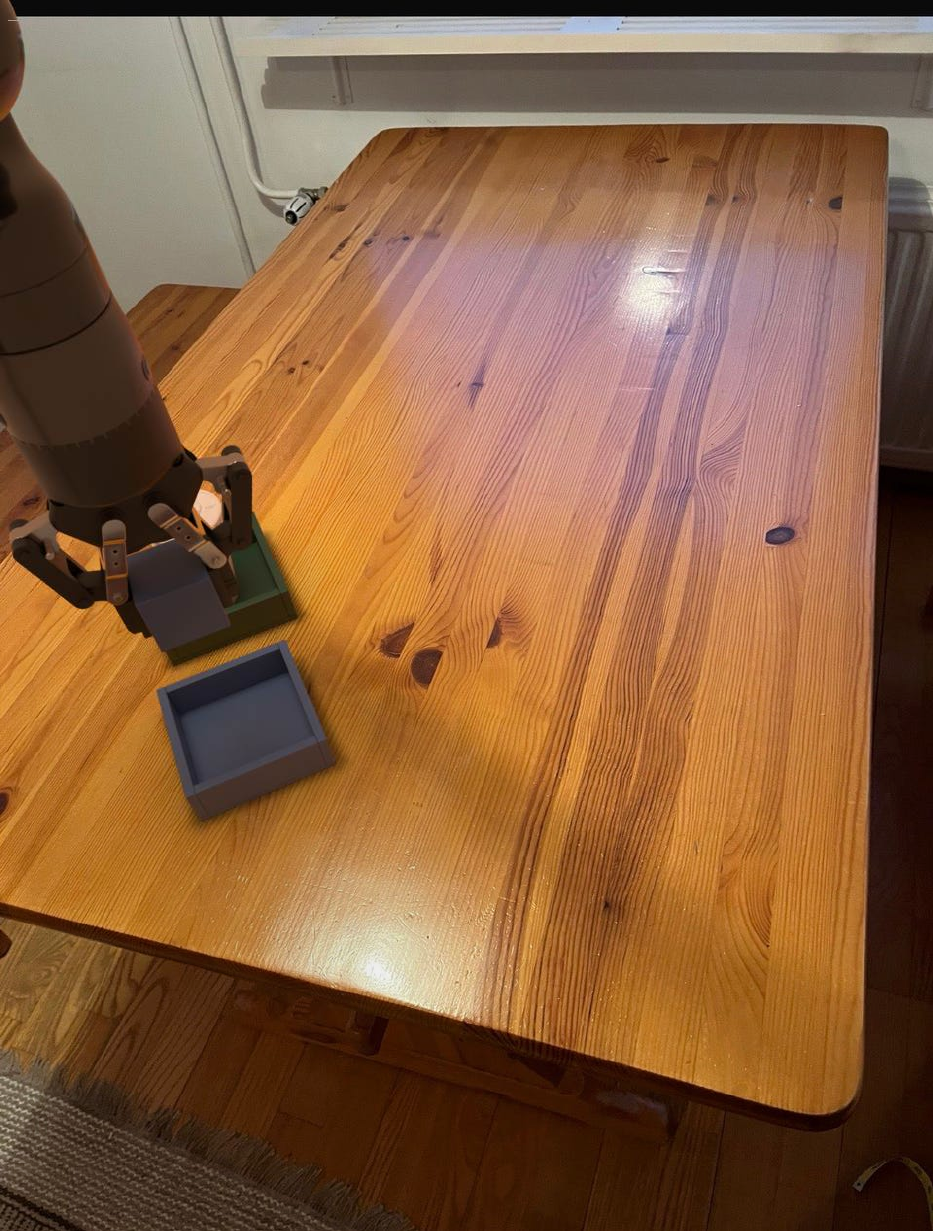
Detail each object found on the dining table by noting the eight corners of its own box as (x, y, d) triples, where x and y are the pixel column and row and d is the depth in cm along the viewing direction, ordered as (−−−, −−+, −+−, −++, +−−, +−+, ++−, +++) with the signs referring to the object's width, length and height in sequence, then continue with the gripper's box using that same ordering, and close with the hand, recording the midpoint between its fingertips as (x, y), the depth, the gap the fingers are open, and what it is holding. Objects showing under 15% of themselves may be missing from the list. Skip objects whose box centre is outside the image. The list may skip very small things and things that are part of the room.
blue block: (161, 653, 58) (135, 606, 54) (147, 605, 60) (121, 557, 57) (231, 626, 59) (209, 578, 55) (214, 580, 61) (192, 531, 58)
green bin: (173, 666, 77) (158, 639, 74) (147, 580, 83) (133, 553, 81) (298, 617, 79) (288, 590, 76) (263, 538, 86) (253, 510, 83)
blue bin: (201, 821, 67) (185, 797, 64) (171, 715, 73) (155, 689, 71) (336, 764, 69) (326, 738, 66) (295, 665, 75) (285, 638, 73)
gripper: (198, 313, 50) (277, 537, 63) (-74, 398, 47) (68, 615, 60) (232, 385, 45) (310, 611, 58) (-67, 484, 43) (85, 699, 56)
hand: (186, 612), depth 59 cm, fingers closed on blue block, 4 cm apart
